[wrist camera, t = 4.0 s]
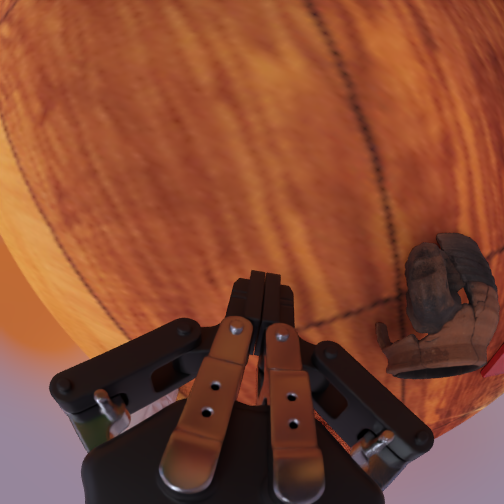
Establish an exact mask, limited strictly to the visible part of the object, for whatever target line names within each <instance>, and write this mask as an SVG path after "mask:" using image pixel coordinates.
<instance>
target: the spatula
mask: <svg viewBox="0 0 504 504" xmlns="http://www.w3.org/2000/svg"><path fill="white" fill-rule="evenodd" d="M503 373H504V344H503V345H502V346H501V348H500V349H499V350H498V351H497V353H496V354H495V355H494V356H493V358H492V359H491V360H490V361H489V363H488V364H487V365H486V366H485V367H484V368H483V370H482V371H481V375H482V377H483V378H484V377H489V376H494V375H498V374H503Z"/></svg>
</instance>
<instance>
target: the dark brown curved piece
mask: <svg viewBox="0 0 504 504" xmlns="http://www.w3.org/2000/svg"><path fill="white" fill-rule="evenodd" d="M436 239H437V242H438V243H439V245H440V246H441V249H439V247H438V246H437V245H436V244H434V243H427V242H423V243H421V244H420V245H418V246H415V247H414V248H413V249H412V251H411V253H410V254H409V257H408V260H407V262H406V263H405V276H406V280H407V286H408V291H407V293H406V300H407V307H406V312H407V315H408V317H409V319H410V321H411V323H412V326H413V328H414V329H415V330H416V331H417V332H419V333H428V335H427V336H425V337H424V338H422V339H421V340H418V339H417V338H416V336H415V335H414V334H410V335H408V336H406V337H405V338H403V339H401V340H397V341H395V342H394V343H391V342H390V340H389V336H388V331H387V326H386V325H385V324H384V323H376V334H377V341H378V343H379V345H380V348H381V350H382V352H383V353H384V354H385V355H386V357H387V358H388V367H387V369H386V372H387V373H388V374H393V376H394V377H397V378H403V379H431V378H442V377H450V376H456V375H461V374H465V373H469V372H472V371H475V370H477V369H479V368H481V367H483V366H485V365H486V364H487V353H486V349H487V346H488V345H489V342H490V341H491V339H492V337H493V334H494V333H495V331H496V327H497V324H498V321H499V310H500V306H499V303H498V294H497V286H496V285H495V279H494V277H493V276H492V272H491V269H490V267H489V264H488V262H487V261H486V260H485V258H484V256H483V255H482V253H481V251H480V249H479V247H478V245H477V243H476V242H475V241H473V240H472V239H471V238H470V237H467V236H465V235H463V234H459V233H440V234H437V237H436ZM462 287H463V288H464V290H465V292H466V295H467V298H468V300H469V304H467V303H463V304H462V303H461V298H460V296H459V294H458V293H457V292H458V291H459V290H460V289H461V288H462Z"/></svg>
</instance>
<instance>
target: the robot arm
mask: <svg viewBox="0 0 504 504" xmlns="http://www.w3.org/2000/svg"><path fill="white" fill-rule="evenodd" d="M280 282H281V275H279V274H273V273H266V277H265V272H260V271H254V270H251V276H250V280H249V279H243V278H239V279H238V280H237V281H236V282H235V283H234V285H233V289H232V293H231V297H230V301H229V304H228V308H227V312H226V316H225V319H223V320H222V321H221V323H220V324H218V325H216V326H212V327H200V325H199V324H198V323H197V322H196V321H195V320H192V319H189V318H179V319H176V320H174V321H172V322H169V323H167V324H165V325H163V326H161V327H159V328H157V329H155V330H153V331H151V332H148V333H146V334H144V335H142V336H140V337H138V338H136V339H133V340H131V341H129V342H127V343H125V344H123V345H120V346H118V347H116V348H114V349H112V350H110V351H107V352H105V353H103V354H101V355H98V356H96V357H94V358H92V359H90V360H87V361H85V362H83V363H80V364H78V365H76V366H74V367H71V368H69V369H67V370H64V371H62V372H60V373H58V374H56V375H55V376H54V377H53V378H52V380H51V382H50V386H49V390H50V393H51V395H52V397H53V398H54V399H55V400H56V402H57V403H58V404H59V406H60V408H61V409H62V410H63V411H64V413H65V414H66V415H67V416H68V417H69V419H70V421H71V423H72V425H73V427H74V429H75V431H76V433H77V435H78V437H79V439H80V440H81V442H82V444H83V446H84V448H85V449H86V451H87V453H88V454H87V455H86V457H85V458H84V461H83V463H82V468H81V477H82V482H83V486H84V492H85V504H385V499H384V495H383V491H384V490H385V489H386V488H387V487H388V485H390V484H391V482H392V481H393V480H394V479H395V478H396V477H397V476H398V475H399V474H400V472H401V471H402V470H403V469H404V468H405V467H406V465H407V464H408V463H410V462H411V461H413V460H415V459H417V458H418V457H420V456H421V455H423V454H424V453H426V452H428V451H429V450H430V449H431V448H432V446H433V443H434V435H433V432H432V431H431V429H430V428H429V427H428V426H427V425H426V424H425V423H424V422H423V421H421V420H420V419H419V418H418V417H417V416H416V415H415V414H414V413H413V412H412V411H411V410H409V409H408V408H407V407H406V406H405V405H404V404H403V403H402V402H401V401H400V400H399V399H397V398H396V397H395V396H394V395H393V394H392V393H391V392H390V391H389V390H388V389H387V388H386V387H384V386H383V385H382V384H381V383H380V382H379V381H378V380H377V379H376V378H375V377H374V376H373V375H372V374H370V373H369V372H368V371H367V370H366V369H365V368H364V367H363V366H362V365H361V364H360V363H359V362H358V361H356V360H355V359H354V358H353V357H352V356H351V355H350V354H349V353H348V352H347V351H346V350H345V349H344V348H343V347H341V346H340V345H339V344H337V343H335V342H333V341H322V342H320V343H318V344H317V345H314V344H311V343H309V342H306V341H304V340H303V339H301V338H300V337H299V336H298V333H297V331H296V330H295V323H294V296H293V291H292V290H291V288H290V287H289V286H286V285H280ZM255 342H256V343H255ZM254 347H255V352H254V355H257V356H259V360H258V365H257V369H256V405H255V406H249V405H246V404H243V403H241V402H238V401H237V398H238V394H239V390H240V386H241V382H242V378H243V374H244V370H245V366H246V365H247V363H248V359H249V354H250V355H253V351H254ZM194 378H195V381H194V384H193V386H192V389H191V391H190V394H189V396H188V398H186V399H182V400H179V401H176V402H173V403H171V404H169V405H168V406H166V407H165V408H163V409H161V410H160V411H158V412H157V413H155V414H153V415H152V416H150V417H148V418H147V419H145V420H143V421H142V422H140V423H138V424H137V425H135V426H133V427H131V428H130V429H128V430H126V431H125V432H123V433H121V432H122V431H124V430H125V429H126V428H127V427H128V426H129V425H130V422H131V414H133V413H135V412H136V411H138V410H140V409H142V408H144V407H146V406H148V405H149V404H151V403H153V402H155V401H157V400H158V399H160V398H162V397H164V396H165V395H167V394H169V393H171V392H172V391H174V390H176V389H178V388H179V387H181V386H183V385H184V384H186V383H188V382H189V381H191V380H193V379H194ZM314 409H315V410H316V411H317V412H318V414H319V415H320V416H321V417H322V418H323V419H324V420H325V421H326V422H327V423H328V424H329V425H330V427H331V428H332V429H333V430H334V431H335V432H336V433H337V434H338V435H339V436H340V437H341V438H342V439H343V440H344V441H345V442H346V443H347V444H348V445H349V446H350V447H351V450H350V455H349V453H348V452H347V451H346V450H345V449H344V448H343V447H342V446H341V445H340V443H339V442H338V441H337V440H336V439H335V438H334V437H333V435H332V434H331V433H330V432H329V431H328V430H327V429H326V427H325V426H324V425H323V424H322V423H320V422H319V421H318V420H316V419H315V416H314ZM120 433H121V434H120Z"/></svg>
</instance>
